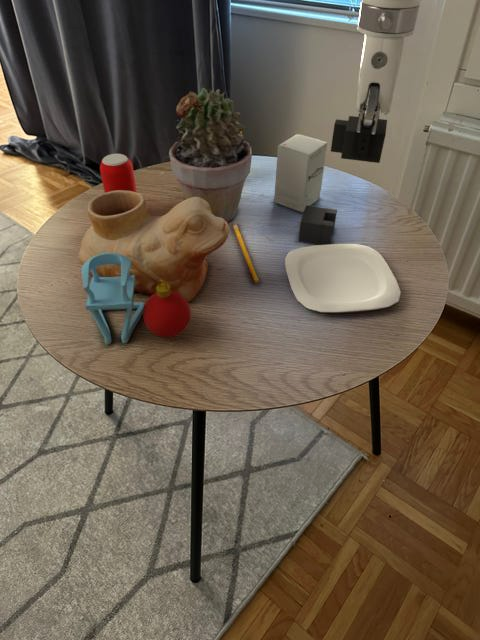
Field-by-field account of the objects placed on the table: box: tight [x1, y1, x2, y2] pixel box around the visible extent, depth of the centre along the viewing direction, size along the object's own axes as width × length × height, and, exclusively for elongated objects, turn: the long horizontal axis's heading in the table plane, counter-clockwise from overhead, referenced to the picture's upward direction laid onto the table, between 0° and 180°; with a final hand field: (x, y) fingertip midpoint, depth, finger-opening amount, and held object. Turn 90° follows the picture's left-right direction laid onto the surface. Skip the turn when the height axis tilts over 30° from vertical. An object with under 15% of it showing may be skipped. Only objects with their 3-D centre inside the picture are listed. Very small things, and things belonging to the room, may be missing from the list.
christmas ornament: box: [142, 280, 192, 338], centre depth 72 cm, size 7×7×10 cm
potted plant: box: [160, 87, 258, 223], centre depth 92 cm, size 18×20×25 cm
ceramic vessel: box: [78, 190, 230, 303], centre depth 80 cm, size 14×26×15 cm, turn 77°
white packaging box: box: [273, 133, 328, 213], centre depth 99 cm, size 7×7×13 cm
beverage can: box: [99, 153, 138, 193], centre depth 95 cm, size 6×6×12 cm
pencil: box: [232, 222, 259, 284], centre depth 90 cm, size 1×18×1 cm, turn 12°
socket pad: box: [298, 205, 338, 245], centre depth 92 cm, size 6×6×4 cm
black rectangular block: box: [330, 115, 388, 164], centre depth 77 cm, size 8×6×4 cm
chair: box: [80, 253, 146, 345], centre depth 72 cm, size 8×8×12 cm
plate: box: [284, 243, 402, 314], centre depth 83 cm, size 18×18×2 cm
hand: (363, 146), depth 78 cm, fingers closed on black rectangular block, 6 cm apart
